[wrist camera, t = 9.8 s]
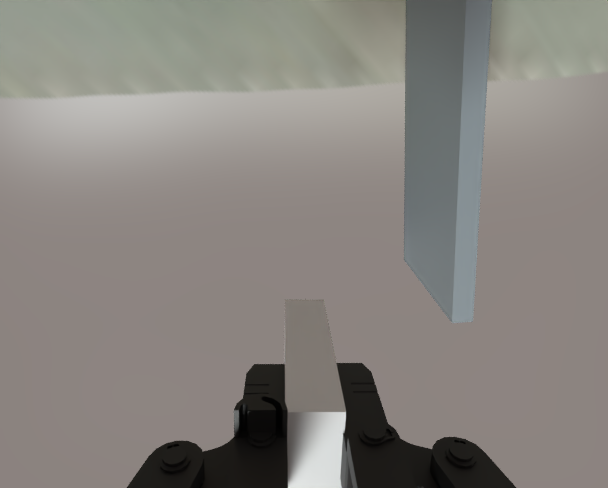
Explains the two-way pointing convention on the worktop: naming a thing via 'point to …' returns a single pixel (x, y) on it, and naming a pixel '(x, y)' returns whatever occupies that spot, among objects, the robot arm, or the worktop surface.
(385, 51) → the worktop surface
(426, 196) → the cabinet door
